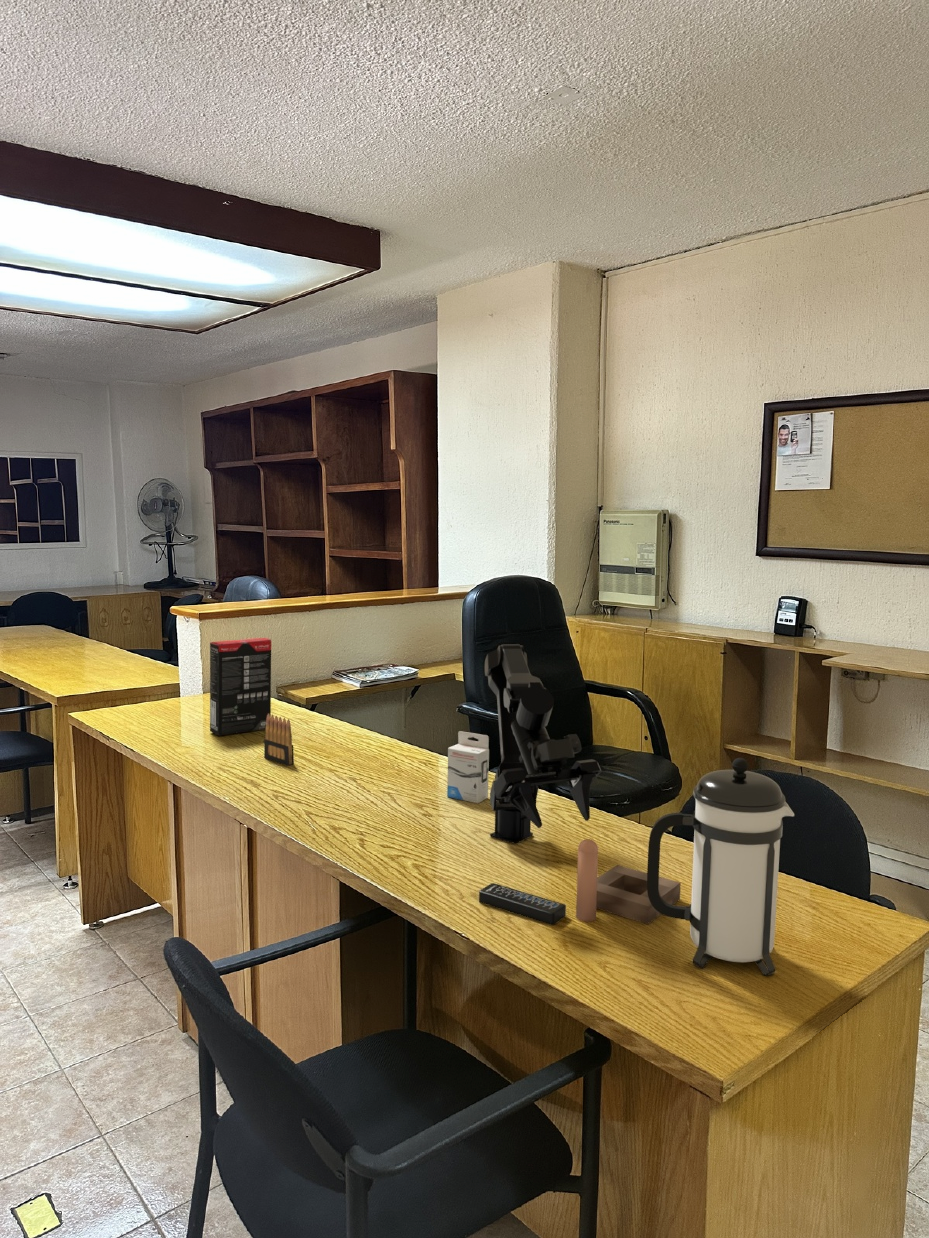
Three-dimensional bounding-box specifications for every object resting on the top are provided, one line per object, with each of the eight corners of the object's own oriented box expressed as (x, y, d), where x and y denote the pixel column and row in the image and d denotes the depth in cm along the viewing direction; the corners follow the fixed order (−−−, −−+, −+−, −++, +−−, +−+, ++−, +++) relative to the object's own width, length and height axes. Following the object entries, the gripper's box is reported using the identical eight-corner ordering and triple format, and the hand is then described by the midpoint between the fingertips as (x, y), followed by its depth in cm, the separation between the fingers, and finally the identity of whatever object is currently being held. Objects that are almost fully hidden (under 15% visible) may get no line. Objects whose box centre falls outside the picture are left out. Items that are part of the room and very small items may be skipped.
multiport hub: (553, 927, 141) (553, 913, 141) (477, 903, 149) (478, 890, 149) (566, 917, 144) (567, 904, 144) (492, 895, 153) (492, 882, 153)
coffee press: (725, 920, 143) (734, 739, 140) (806, 965, 129) (818, 764, 126) (641, 944, 135) (648, 751, 131) (717, 994, 121) (727, 780, 118)
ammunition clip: (264, 757, 235) (263, 713, 233) (269, 756, 236) (269, 712, 235) (288, 766, 227) (287, 720, 226) (294, 764, 229) (293, 718, 227)
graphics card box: (262, 724, 271) (261, 636, 268) (273, 729, 266) (272, 638, 262) (209, 733, 260) (207, 640, 257) (219, 737, 255) (217, 643, 251)
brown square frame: (582, 903, 149) (582, 886, 149) (616, 880, 158) (617, 864, 158) (648, 924, 142) (648, 906, 141) (679, 899, 151) (680, 882, 151)
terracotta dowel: (572, 917, 144) (574, 840, 142) (582, 910, 146) (584, 834, 145) (589, 923, 142) (592, 844, 140) (599, 916, 144) (602, 839, 143)
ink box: (446, 797, 204) (446, 734, 202) (456, 791, 208) (457, 730, 206) (478, 803, 200) (479, 739, 198) (489, 797, 204) (490, 735, 202)
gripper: (502, 723, 148) (532, 807, 140) (597, 714, 156) (631, 793, 147) (481, 757, 156) (508, 838, 148) (572, 747, 164) (604, 824, 155)
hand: (564, 823), depth 149 cm, fingers open, 9 cm apart
